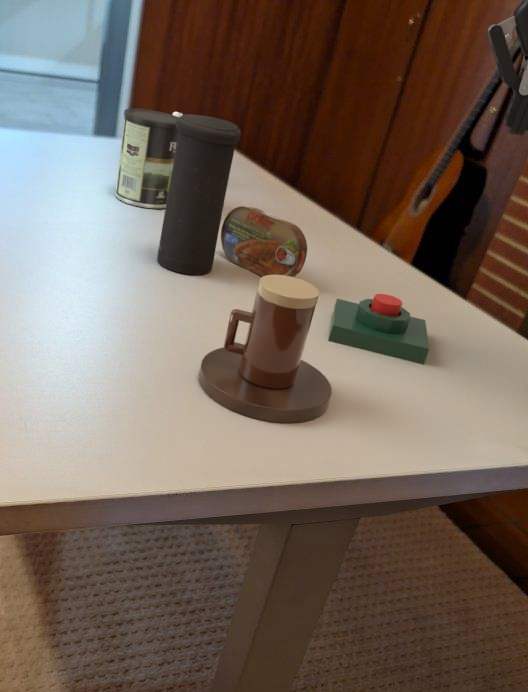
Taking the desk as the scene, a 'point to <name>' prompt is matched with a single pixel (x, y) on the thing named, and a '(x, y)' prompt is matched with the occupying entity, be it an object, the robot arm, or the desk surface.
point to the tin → (263, 242)
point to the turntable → (264, 390)
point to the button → (386, 305)
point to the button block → (379, 331)
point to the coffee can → (146, 158)
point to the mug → (274, 331)
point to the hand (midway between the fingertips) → (514, 133)
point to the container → (196, 193)
